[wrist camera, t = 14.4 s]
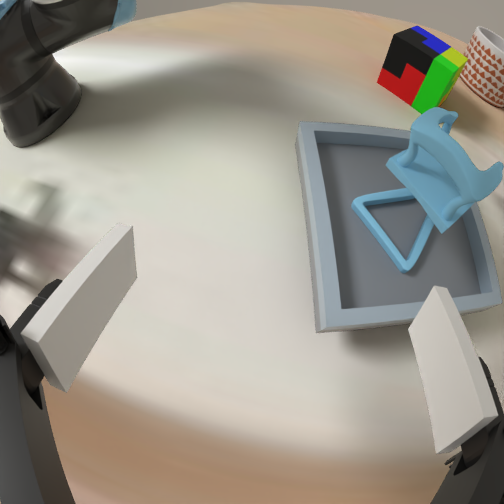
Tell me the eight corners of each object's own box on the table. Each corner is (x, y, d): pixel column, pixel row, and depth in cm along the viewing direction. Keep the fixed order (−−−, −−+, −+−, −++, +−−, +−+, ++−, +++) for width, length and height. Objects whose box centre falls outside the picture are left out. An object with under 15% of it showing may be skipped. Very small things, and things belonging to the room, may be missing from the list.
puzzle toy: (401, 67, 43) (417, 25, 34) (446, 99, 41) (468, 58, 31) (376, 82, 41) (393, 34, 31) (427, 119, 38) (453, 72, 29)
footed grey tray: (292, 162, 34) (299, 121, 28) (427, 169, 34) (450, 137, 28) (309, 336, 27) (326, 327, 21) (464, 317, 27) (502, 302, 21)
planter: (475, 100, 42) (502, 55, 30) (446, 60, 47) (465, 18, 35) (514, 114, 42) (540, 77, 30) (486, 74, 47) (506, 38, 35)
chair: (452, 230, 26) (527, 161, 14) (402, 275, 24) (489, 207, 13) (405, 171, 28) (458, 86, 17) (348, 205, 26) (399, 107, 15)
